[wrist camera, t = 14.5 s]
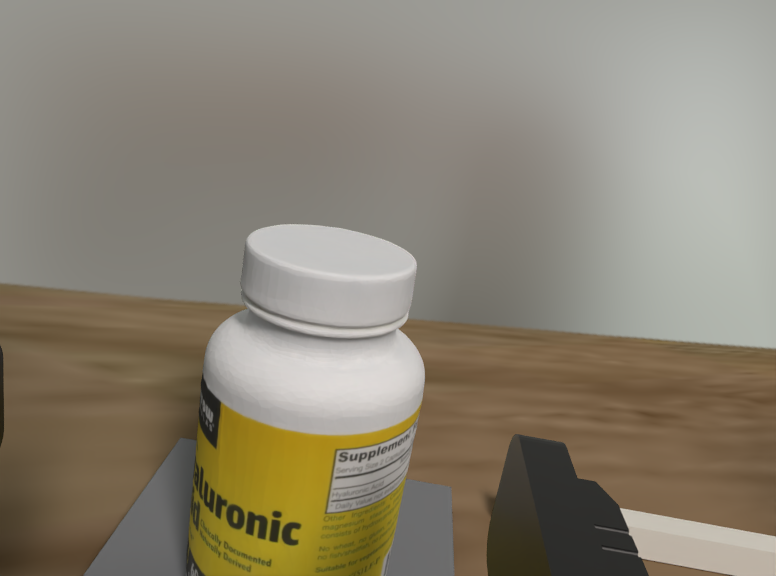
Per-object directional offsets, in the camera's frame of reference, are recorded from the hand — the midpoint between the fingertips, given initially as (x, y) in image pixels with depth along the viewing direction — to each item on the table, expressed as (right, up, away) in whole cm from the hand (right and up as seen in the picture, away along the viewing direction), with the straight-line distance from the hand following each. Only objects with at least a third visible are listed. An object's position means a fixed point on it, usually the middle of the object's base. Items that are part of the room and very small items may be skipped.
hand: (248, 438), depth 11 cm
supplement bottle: (-1, -6, +8) cm, 10 cm away
